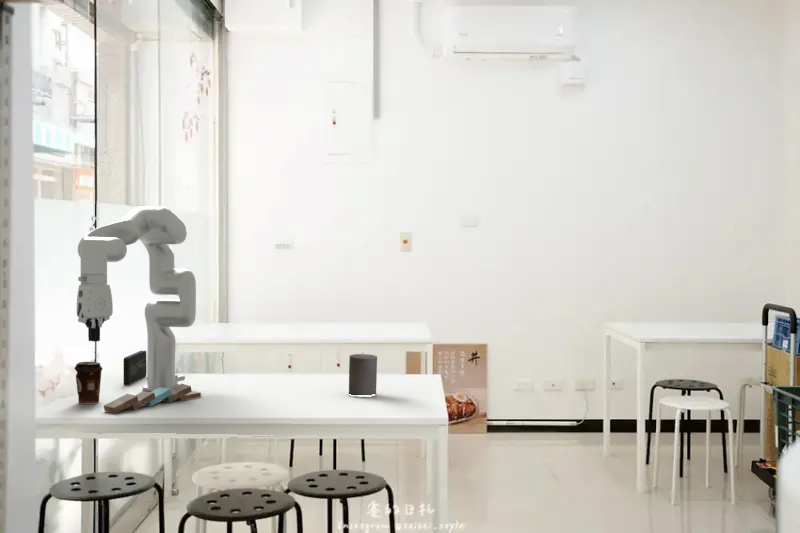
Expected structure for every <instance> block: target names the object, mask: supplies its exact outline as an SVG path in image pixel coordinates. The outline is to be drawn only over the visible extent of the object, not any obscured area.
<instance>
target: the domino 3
mask: <svg viewBox="0 0 800 533" xmlns="http://www.w3.org/2000/svg"><path fill="white" fill-rule="evenodd" d="M170 390H171V395H170V396H168V397H166V398H164V399H163V400H161V401H163V402H166V403H168V404H169V403H172V402H174V401H177V400H176V399H178V398H180V397H182V396H184V395H186V394H188V393H190V392H192V391H193V390H192V386H191V385H188V384H185V383H180V384H179V385H178V386H176V387H174V388H172V389H170ZM161 401H160V402H161Z"/></svg>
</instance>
